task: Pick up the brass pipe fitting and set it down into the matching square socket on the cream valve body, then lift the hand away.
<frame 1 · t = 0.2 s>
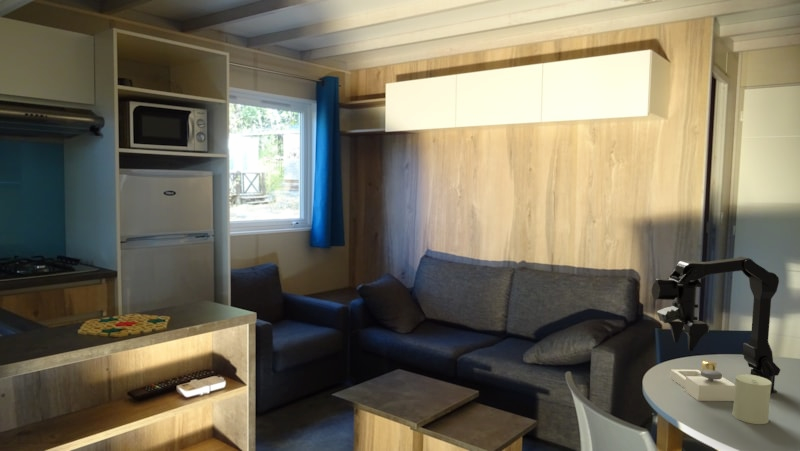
hand: (683, 346, 192), 14 cm above the table, tool pointing down, fingers open, 9 cm apart
can: (750, 418, 172), on the table
pipe fitting: (707, 379, 203), on the table
valve body: (691, 383, 198), on the table
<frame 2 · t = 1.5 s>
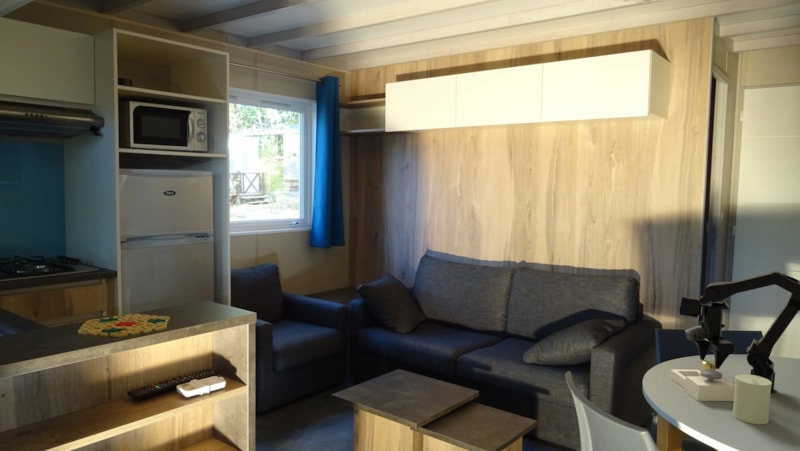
hand: (709, 364, 202), 5 cm above the table, tool pointing down, fingers open, 9 cm apart
nothing on the table moved.
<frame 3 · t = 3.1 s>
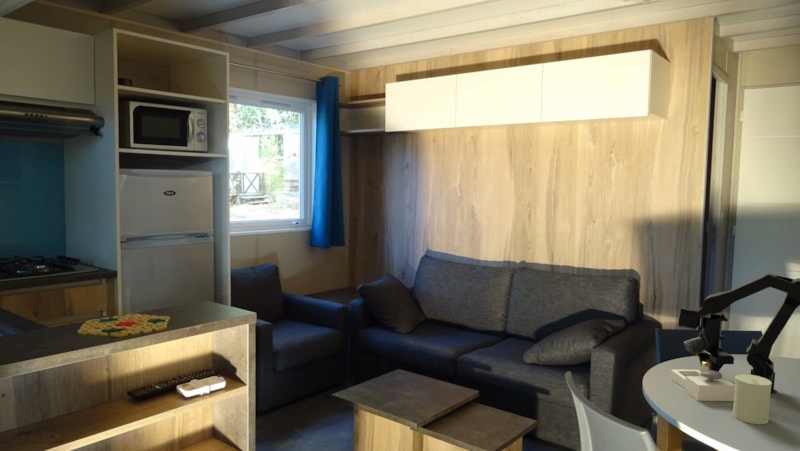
hand: (708, 375, 203), 1 cm above the table, tool pointing down, fingers closed on pipe fitting, 4 cm apart
pipe fitting: (707, 379, 203), on the table, touching gripper
everything else where it was.
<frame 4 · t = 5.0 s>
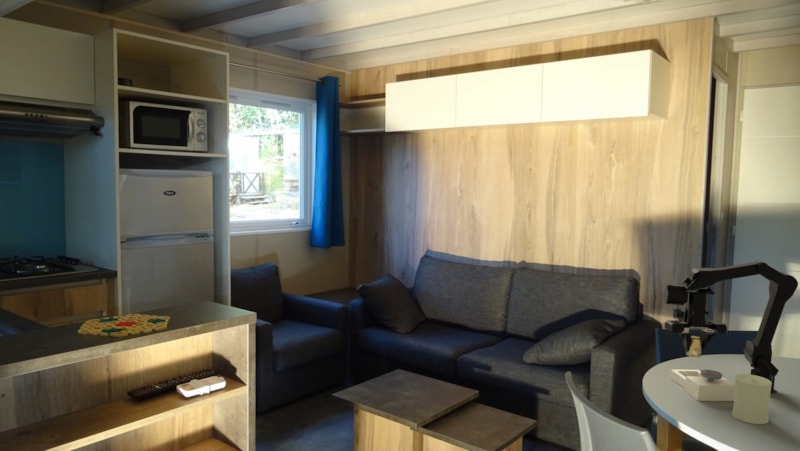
hand: (693, 351, 197), 11 cm above the table, tool pointing down, fingers closed on pipe fitting, 4 cm apart
pipe fitting: (693, 355, 198), point 10 cm above the table, touching gripper
everything else where it was.
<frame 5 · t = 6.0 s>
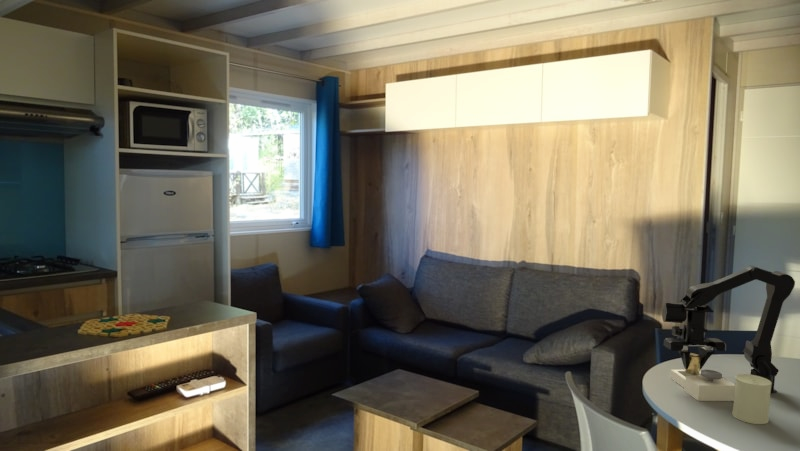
hand: (692, 369, 198), 5 cm above the table, tool pointing down, fingers closed on pipe fitting, 4 cm apart
pipe fitting: (692, 372, 198), point 4 cm above the table, touching gripper
everything else where it was.
when the fingers open (4 cm above the table, at t = 7.0 s): pipe fitting drops 3 cm, resting in valve body.
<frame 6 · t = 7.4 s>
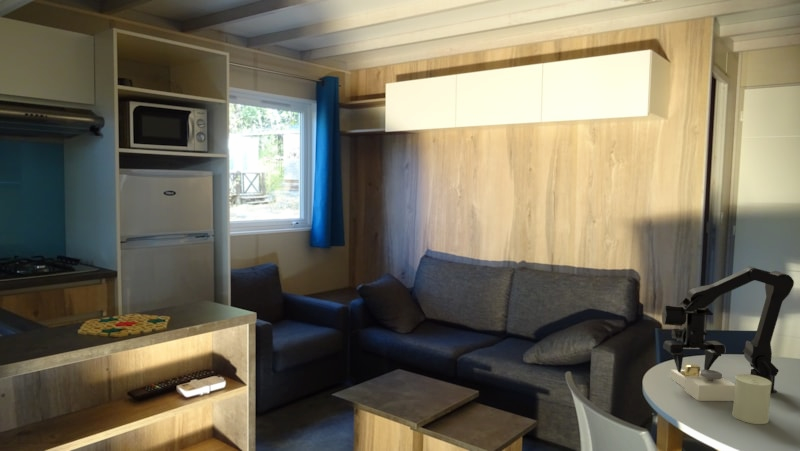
hand: (692, 371, 198), 4 cm above the table, tool pointing down, fingers open, 9 cm apart
pipe fitting: (691, 383, 199), resting in valve body
everything else where it was.
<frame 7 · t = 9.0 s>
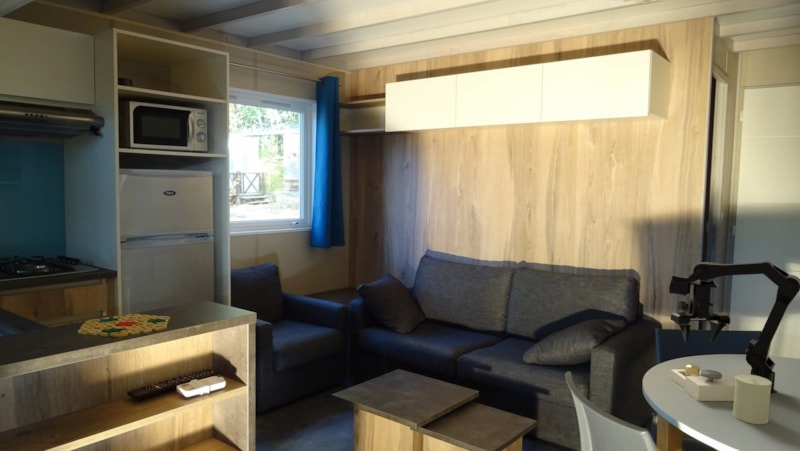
hand: (698, 342, 205), 12 cm above the table, tool pointing down, fingers open, 9 cm apart
nothing on the table moved.
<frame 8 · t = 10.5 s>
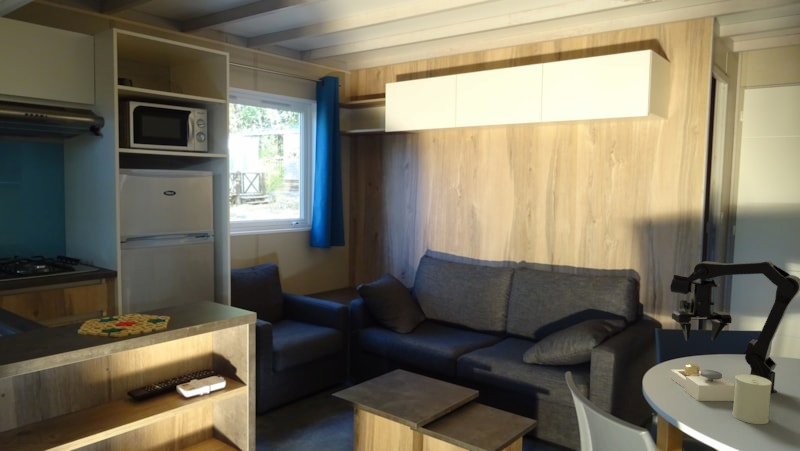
hand: (699, 340, 206), 12 cm above the table, tool pointing down, fingers open, 9 cm apart
nothing on the table moved.
at the end: pipe fitting 0.1 cm off-centre on the valve body, point 0.0 cm above the valve body's base; pipe fitting tilted 2°; the gripper is holding nothing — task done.
